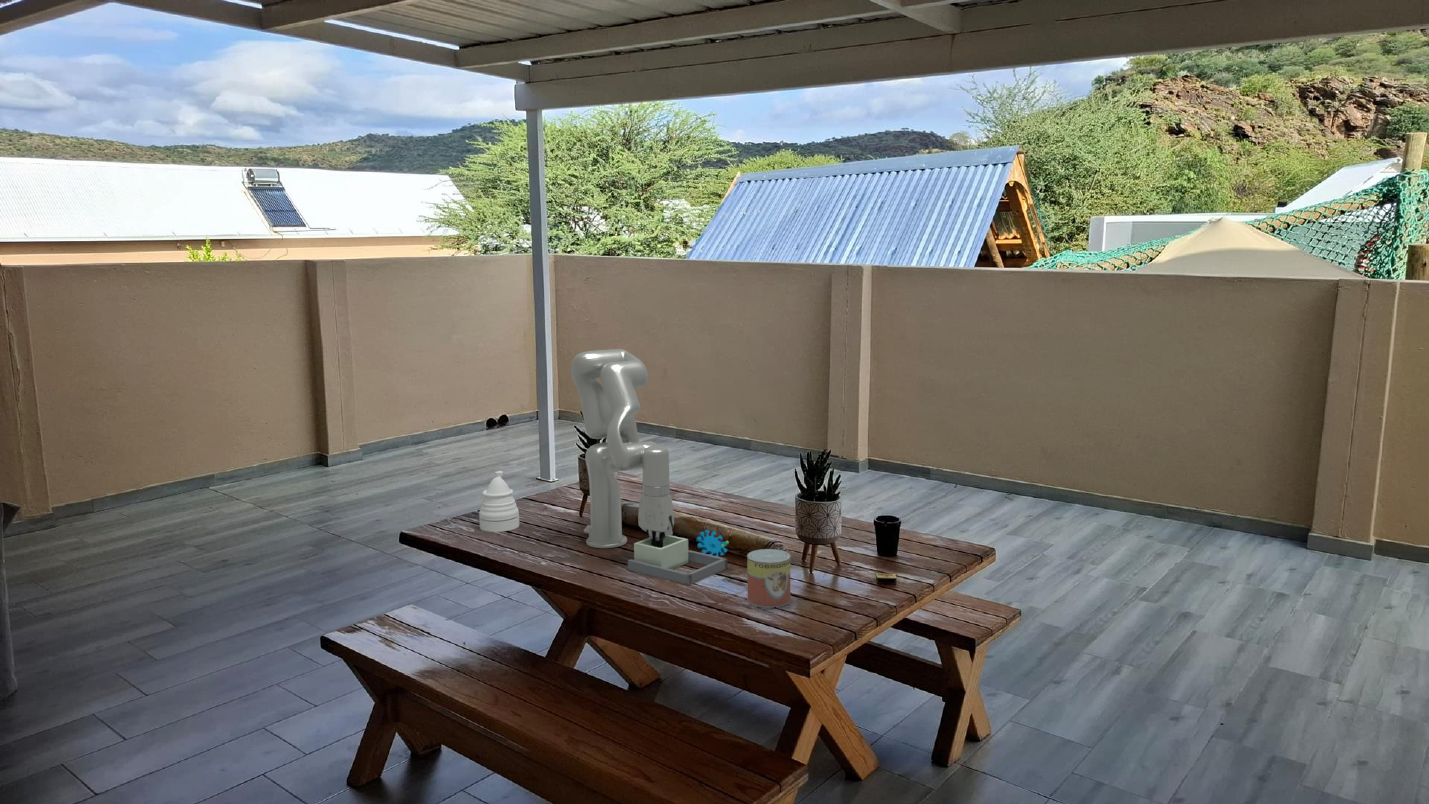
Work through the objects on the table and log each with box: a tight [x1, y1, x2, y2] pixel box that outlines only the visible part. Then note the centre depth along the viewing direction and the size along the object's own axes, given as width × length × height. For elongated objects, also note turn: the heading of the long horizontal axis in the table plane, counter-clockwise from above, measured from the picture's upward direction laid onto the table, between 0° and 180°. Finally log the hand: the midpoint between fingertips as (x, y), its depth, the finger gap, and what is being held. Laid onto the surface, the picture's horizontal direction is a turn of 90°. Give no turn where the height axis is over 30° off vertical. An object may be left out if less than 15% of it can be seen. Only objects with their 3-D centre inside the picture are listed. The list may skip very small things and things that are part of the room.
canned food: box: [746, 548, 792, 609], centre depth 254 cm, size 11×11×12 cm
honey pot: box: [478, 470, 520, 533], centre depth 323 cm, size 13×13×18 cm
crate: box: [633, 535, 689, 570], centre depth 279 cm, size 10×12×7 cm
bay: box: [627, 549, 729, 586], centre depth 276 cm, size 22×17×4 cm
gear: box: [696, 529, 730, 557], centre depth 291 cm, size 11×6×10 cm
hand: (657, 552), depth 280 cm, fingers closed
